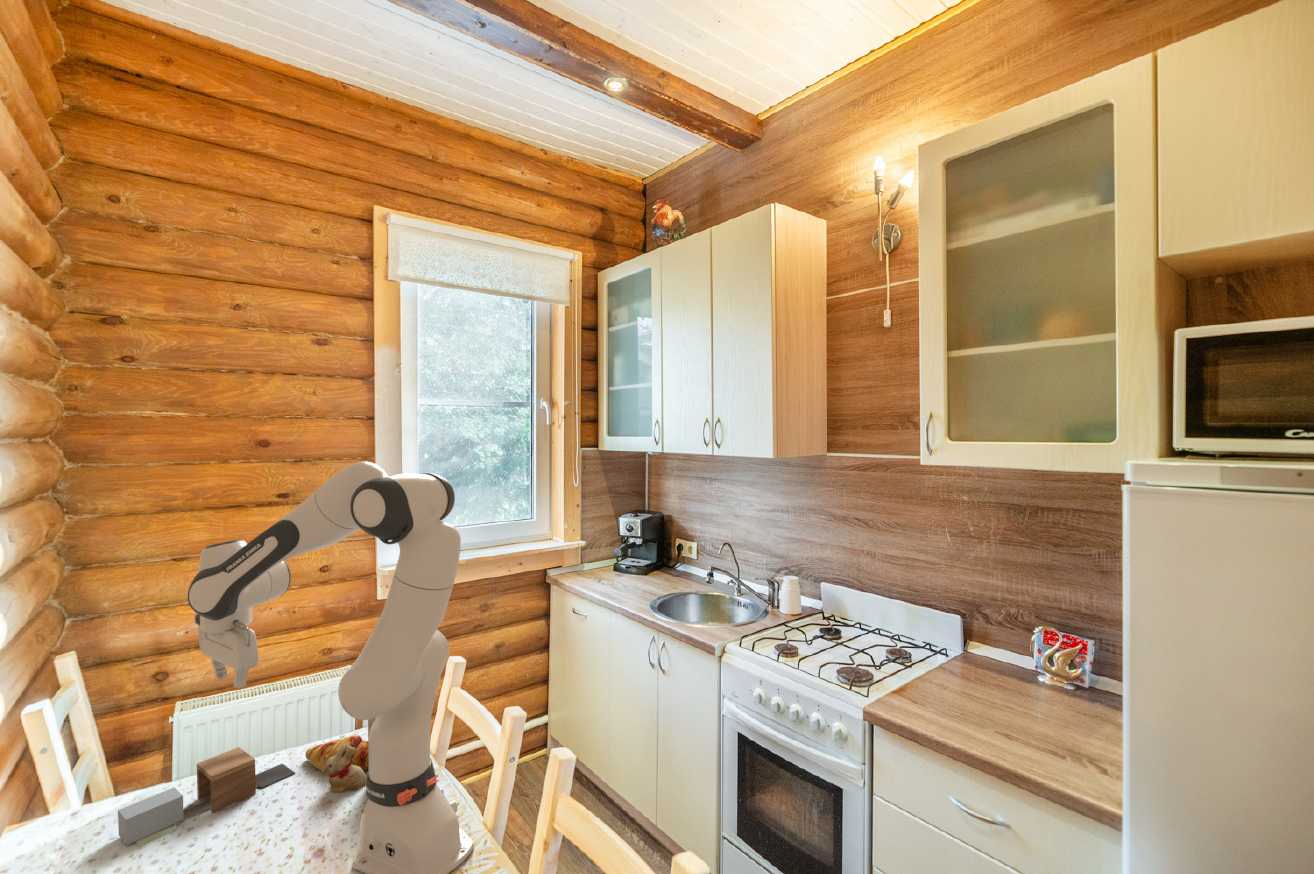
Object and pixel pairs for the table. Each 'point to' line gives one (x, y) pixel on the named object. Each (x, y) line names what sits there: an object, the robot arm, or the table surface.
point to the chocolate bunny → (344, 771)
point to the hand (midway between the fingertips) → (230, 681)
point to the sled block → (150, 815)
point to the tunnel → (225, 784)
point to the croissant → (330, 749)
